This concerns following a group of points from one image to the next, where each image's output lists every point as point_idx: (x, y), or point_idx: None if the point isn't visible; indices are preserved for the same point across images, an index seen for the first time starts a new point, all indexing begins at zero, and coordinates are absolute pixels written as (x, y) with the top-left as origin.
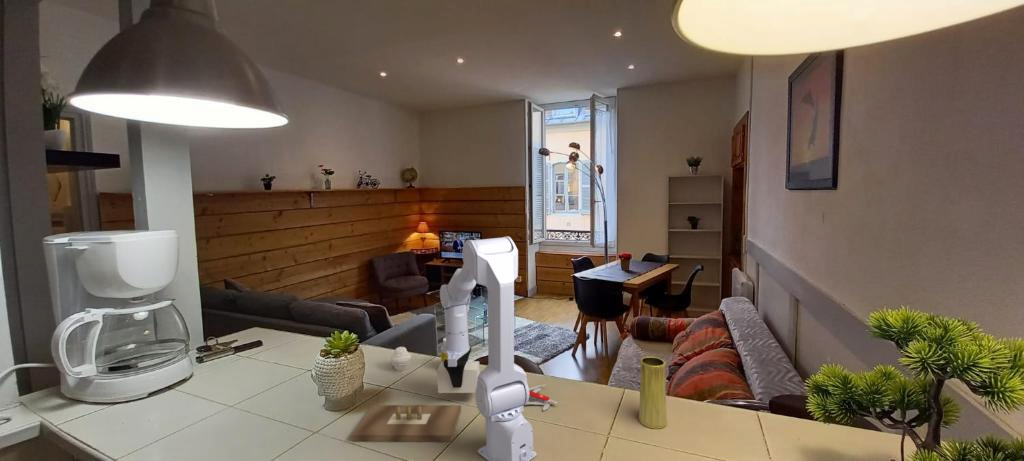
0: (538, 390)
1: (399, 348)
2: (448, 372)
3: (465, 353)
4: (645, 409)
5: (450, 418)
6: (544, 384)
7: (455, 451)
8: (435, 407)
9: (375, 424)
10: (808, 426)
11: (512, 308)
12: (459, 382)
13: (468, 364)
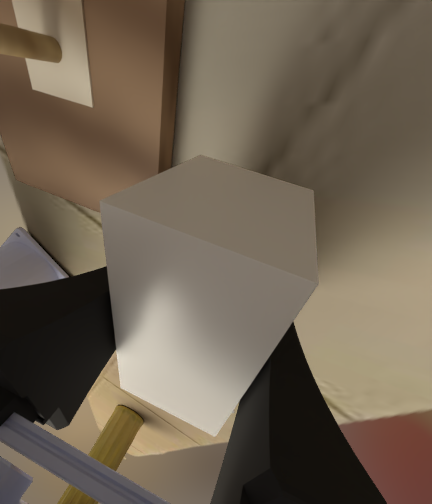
0: None
1: None
2: (61, 280)
3: (222, 487)
4: (107, 428)
5: (82, 188)
6: (233, 412)
7: (12, 181)
8: (143, 131)
9: None
10: (127, 452)
11: None
12: None
13: (185, 396)
